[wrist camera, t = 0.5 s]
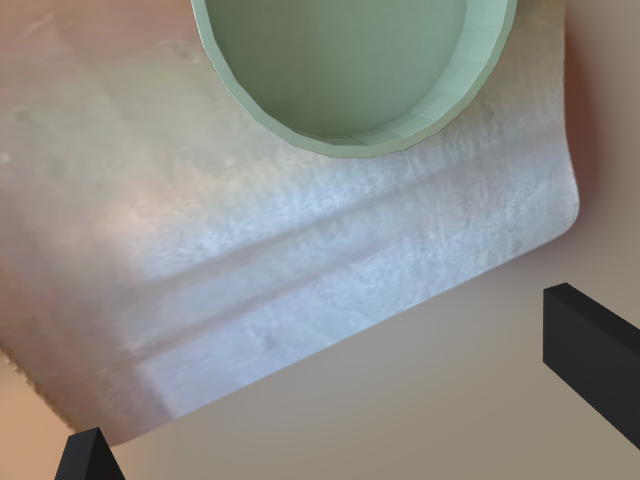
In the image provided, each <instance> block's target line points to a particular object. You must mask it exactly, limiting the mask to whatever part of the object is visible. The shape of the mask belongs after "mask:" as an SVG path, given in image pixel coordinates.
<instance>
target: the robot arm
mask: <svg viewBox="0 0 640 480" xmlns="http://www.w3.org/2000/svg"><path fill="white" fill-rule="evenodd" d="M543 294H544V296H543V297H544V298H543V362H544V363H545V364H546V365H547V366H548V367H549V368H550V369H551V370H553V371H554V372H555V373H556V374H557V375H558V376H559V377H560V378H562V380H564V381H565V382H566V383H567V384H568V385H569V386H570V387H571V388H572V389H573V390H574V391H576V392H577V393H578V394H579V395H580V396H581V397H582V398H583V399H584V400H585V401H587V402H588V403H589V404H590V405H591V406H592V407H593V408H594V409H595V410H597V412H599V413H600V414H601V415H602V416H603V417H604V418H605V419H606V420H608V422H610V423H611V424H612V425H613V426H614V427H615V428H616V429H617V430H618V431H619V432H621V433H622V434H623V435H624V436H625V437H626V438H627V439H628V440H629V441H631V443H633V444H634V445H635V446H636V447H637V448H638V449H639V450H640V329H638V328H636V327H635V326H633V325H632V324H630V323H629V322H627V321H626V320H624V319H622V318H621V317H619V316H618V315H616V314H615V313H613V312H611V311H610V310H608V309H607V308H605V307H604V306H602V305H600V304H599V303H597V302H596V301H594V300H593V299H591V298H590V297H588V296H586V295H585V294H583V293H582V292H580V291H579V290H577V289H576V288H574V287H572V286H571V285H569V284H568V283H562V284H559V285H556V286H553V287H550V288H547V289H544V292H543ZM54 480H125V478H124V476H123V474H122V472H121V470H120V468H119V466H118V464H117V462H116V460H115V458H114V456H113V454H112V452H111V450H110V448H109V446H108V444H107V442H106V440H105V438H104V436H103V434H102V432H101V430H100V428H99V427H96V428H93V429H90V430H87V431H83V432H80V433H77V434H74V435H71V436H69V437H68V440H67V443H66V446H65V449H64V452H63V455H62V458H61V461H60V464H59V467H58V470H57V473H56V476H55V479H54Z"/></svg>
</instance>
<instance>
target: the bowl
mask: <svg viewBox="0 0 640 480" xmlns="http://www.w3.org/2000/svg"><path fill="white" fill-rule="evenodd" d="M517 2H518V0H190V3H191V7H192V11H193V15H194V19H195V22H196V26H197V30H198V34H199V37H200V41H201V45H202V47H203V49H204V51H205V53H206V55H207V57H208V58H209V60H210V62H211V64H212V66H213V68H214V69H215V71H216V73H217V75H218V77H219V79H220V80H221V82H222V84H223V85H224V86H225V88H226V89H227V90H228V91H229V92H230V94H231V95H232V96H233V97H234V98H235V99H236V100H237V101H238V102H239V103H240V104H241V106H242V107H243V108H244V109H245V110H246V111H247V112H248V113H249V114H250V115H251V116H252V118H253V119H254V120H255V121H256V122H258V123H259V124H260V125H262V126H263V127H265V128H267V129H268V130H270V131H271V132H273V133H274V134H276V135H277V136H279V137H281V138H282V139H284V140H285V141H287V142H288V143H290V144H292V145H293V146H296V147H300V148H303V149H306V150H309V151H312V152H316V153H319V154H322V155H325V156H329V157H343V158H373V157H377V156H381V155H385V154H389V153H393V152H397V151H401V150H405V149H408V148H410V147H411V146H413V145H415V144H417V143H419V142H421V141H422V140H424V139H426V138H428V137H430V136H432V135H433V134H435V133H437V132H439V131H441V130H442V129H443V128H444V127H445V126H446V125H448V124H449V123H450V122H451V121H452V120H453V119H454V118H455V117H456V116H457V115H459V114H460V113H461V112H462V111H463V110H464V109H465V108H466V107H467V106H468V105H470V104H471V102H472V101H473V99H474V98H475V96H476V95H477V94H478V92H479V91H480V89H481V88H482V86H483V85H484V84H485V82H486V81H487V79H488V78H489V76H490V75H491V73H492V72H493V71H494V69H495V67H496V65H497V63H498V60H499V58H500V56H501V53H502V51H503V49H504V46H505V44H506V41H507V39H508V37H509V34H510V32H511V29H512V26H513V22H514V17H515V12H516V7H517Z"/></svg>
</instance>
